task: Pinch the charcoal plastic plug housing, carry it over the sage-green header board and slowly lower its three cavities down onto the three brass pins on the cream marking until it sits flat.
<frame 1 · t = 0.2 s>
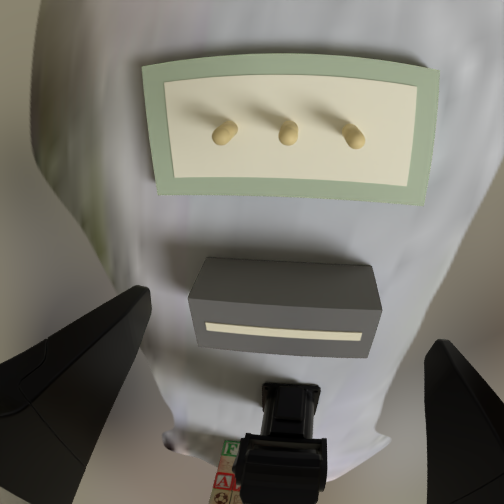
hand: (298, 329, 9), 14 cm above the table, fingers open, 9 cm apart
stack of blocks: (255, 461, 50), on the table
plug housing: (288, 287, 26), on the table
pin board: (290, 123, 19), on the table
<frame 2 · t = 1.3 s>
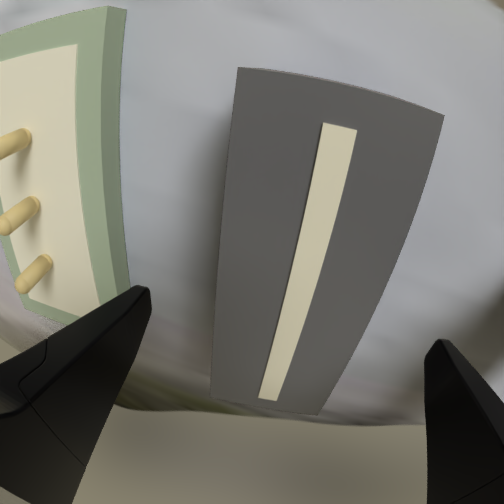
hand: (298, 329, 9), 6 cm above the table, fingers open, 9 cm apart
plug housing: (299, 229, 14), on the table
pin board: (53, 189, 15), on the table
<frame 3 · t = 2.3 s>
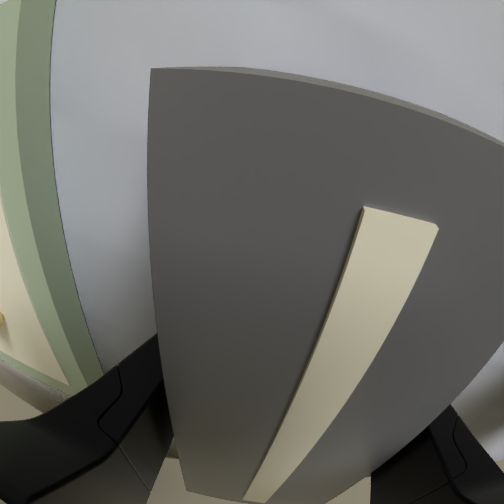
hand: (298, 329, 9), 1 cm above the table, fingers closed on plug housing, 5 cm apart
plug housing: (299, 301, 10), on the table, touching gripper
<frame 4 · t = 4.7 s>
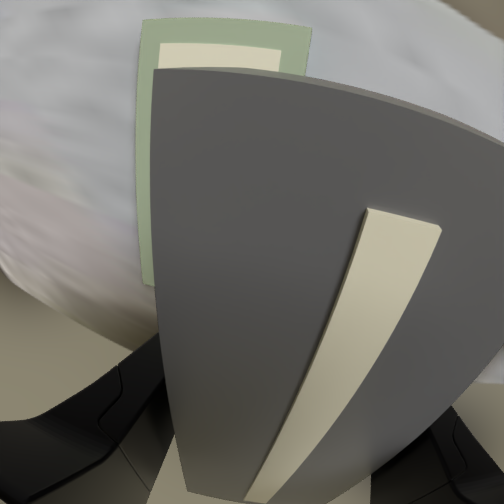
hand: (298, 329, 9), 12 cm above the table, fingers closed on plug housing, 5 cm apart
plug housing: (301, 302, 10), point 10 cm above the table, touching gripper
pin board: (212, 168, 19), on the table
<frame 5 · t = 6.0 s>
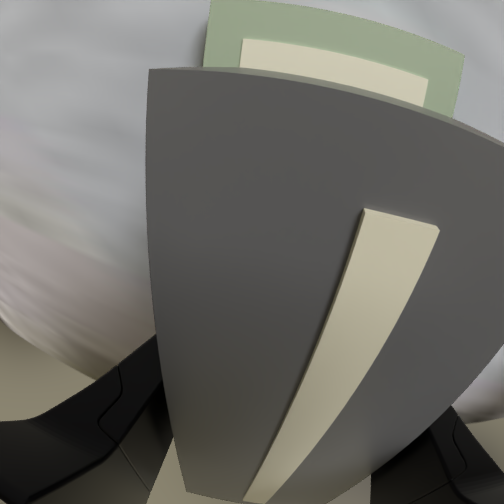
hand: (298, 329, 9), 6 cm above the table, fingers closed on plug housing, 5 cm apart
plug housing: (299, 302, 10), point 5 cm above the table, touching gripper
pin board: (301, 227, 14), on the table
when the fingers open (3 cm above the table, at t = 7.0 s): plug housing stays where it is, resting on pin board.
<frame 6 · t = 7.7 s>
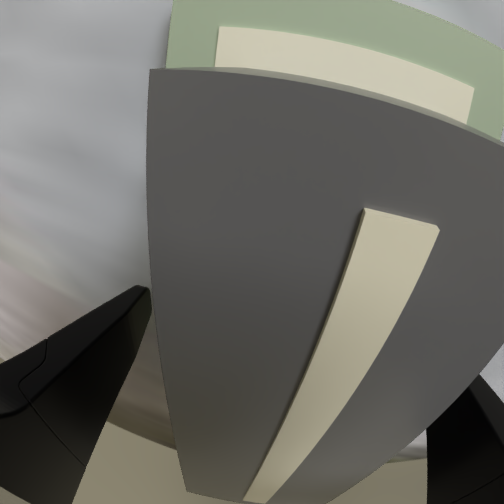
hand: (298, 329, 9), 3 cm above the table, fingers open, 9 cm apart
plug housing: (300, 302, 10), point 2 cm above the table, touching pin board
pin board: (300, 272, 11), on the table
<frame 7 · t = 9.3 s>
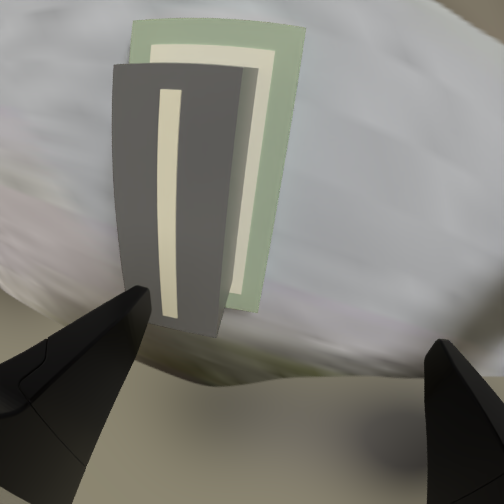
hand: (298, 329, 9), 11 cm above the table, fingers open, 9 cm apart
plug housing: (198, 180, 17), point 2 cm above the table, touching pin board
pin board: (205, 171, 19), on the table
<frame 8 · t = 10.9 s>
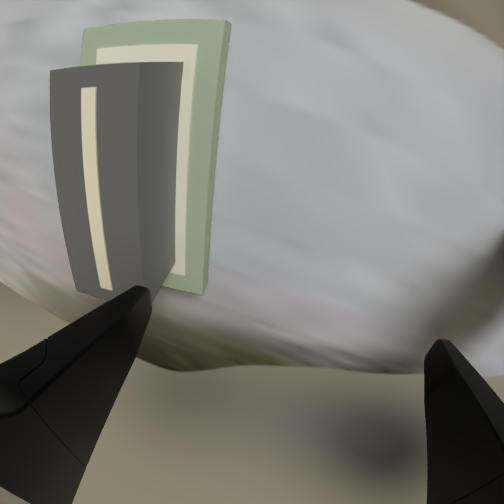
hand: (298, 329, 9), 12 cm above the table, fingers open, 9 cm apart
plug housing: (138, 167, 18), point 2 cm above the table, touching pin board
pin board: (149, 159, 20), on the table
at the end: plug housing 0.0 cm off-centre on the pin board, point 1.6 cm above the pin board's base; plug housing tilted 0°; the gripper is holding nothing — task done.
